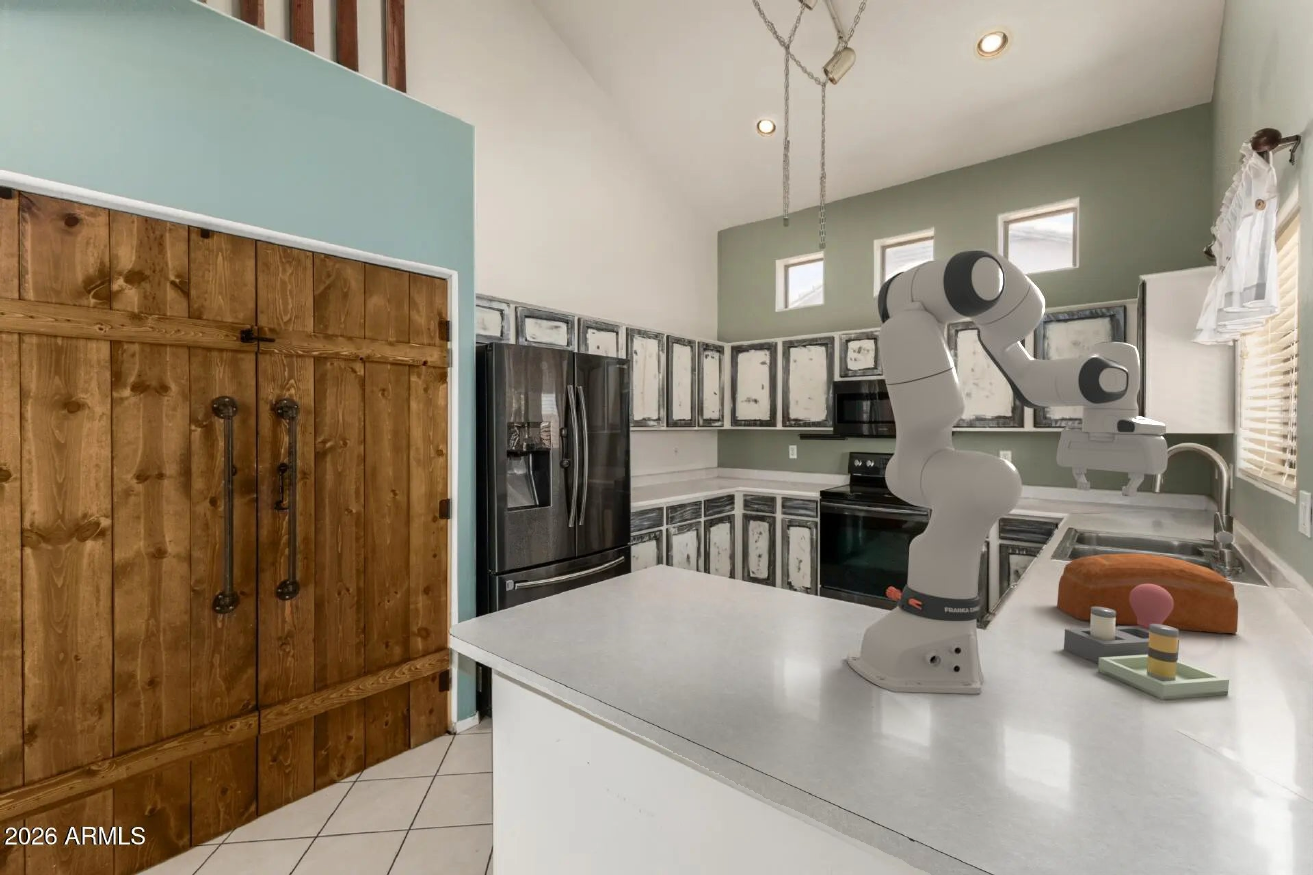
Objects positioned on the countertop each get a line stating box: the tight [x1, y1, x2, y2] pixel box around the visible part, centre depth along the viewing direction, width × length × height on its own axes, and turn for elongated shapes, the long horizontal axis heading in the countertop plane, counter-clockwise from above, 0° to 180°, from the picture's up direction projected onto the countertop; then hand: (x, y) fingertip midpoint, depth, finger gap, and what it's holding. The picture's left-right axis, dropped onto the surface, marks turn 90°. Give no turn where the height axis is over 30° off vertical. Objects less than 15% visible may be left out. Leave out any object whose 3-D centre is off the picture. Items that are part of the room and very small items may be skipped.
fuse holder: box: [1063, 625, 1180, 665], centre depth 114 cm, size 18×8×4 cm, turn 103°
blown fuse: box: [1147, 624, 1180, 682], centre depth 102 cm, size 4×4×9 cm
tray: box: [1097, 654, 1230, 701], centre depth 102 cm, size 14×11×2 cm
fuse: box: [1089, 607, 1116, 641], centre depth 113 cm, size 4×4×9 cm
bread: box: [1056, 552, 1239, 634], centre depth 138 cm, size 14×33×16 cm, turn 80°
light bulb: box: [1129, 584, 1174, 630], centre depth 123 cm, size 7×7×12 cm
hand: (1105, 493), depth 118 cm, fingers open, 8 cm apart
